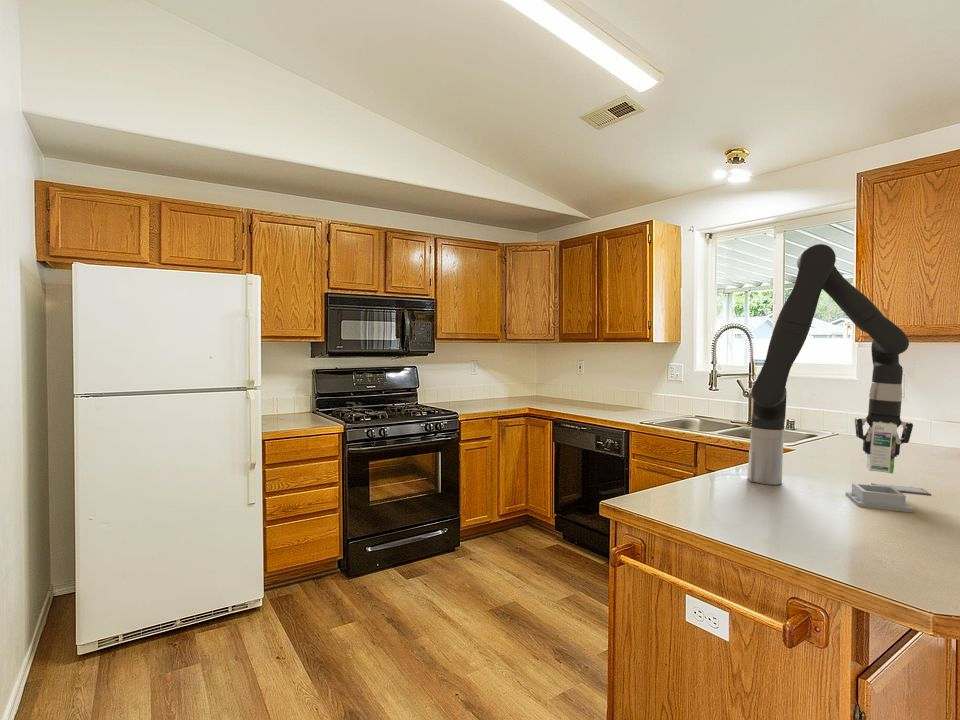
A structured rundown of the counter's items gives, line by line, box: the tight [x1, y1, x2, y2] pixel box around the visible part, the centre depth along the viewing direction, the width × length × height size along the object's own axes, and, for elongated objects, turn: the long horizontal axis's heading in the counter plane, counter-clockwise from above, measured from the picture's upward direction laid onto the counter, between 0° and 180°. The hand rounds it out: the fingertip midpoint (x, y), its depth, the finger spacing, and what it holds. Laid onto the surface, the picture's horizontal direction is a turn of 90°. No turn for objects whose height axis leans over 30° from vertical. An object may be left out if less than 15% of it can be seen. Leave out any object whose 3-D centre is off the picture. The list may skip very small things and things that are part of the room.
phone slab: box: [870, 482, 932, 496], centre depth 163 cm, size 7×13×1 cm, turn 68°
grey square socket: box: [845, 482, 913, 513], centre depth 147 cm, size 12×12×4 cm
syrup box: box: [865, 422, 898, 474], centre depth 156 cm, size 6×6×14 cm
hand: (880, 454), depth 156 cm, fingers closed on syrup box, 6 cm apart
